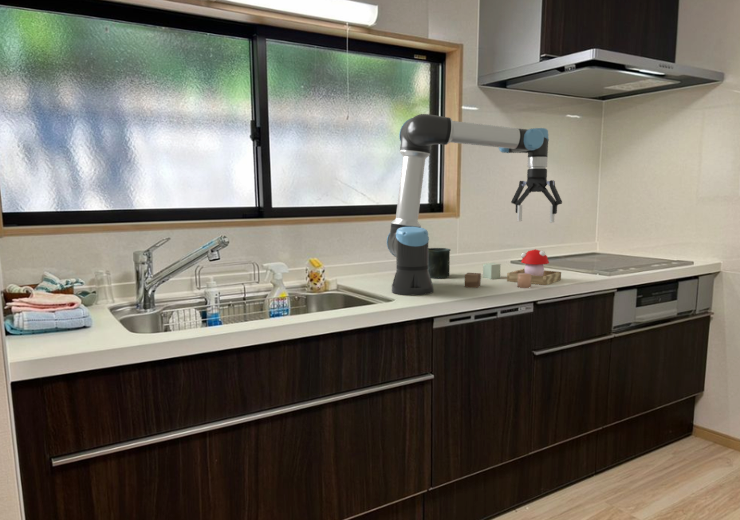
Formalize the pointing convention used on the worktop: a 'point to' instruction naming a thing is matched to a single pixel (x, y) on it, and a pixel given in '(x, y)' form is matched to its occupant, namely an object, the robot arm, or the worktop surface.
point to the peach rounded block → (524, 280)
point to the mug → (438, 262)
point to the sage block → (491, 271)
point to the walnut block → (473, 280)
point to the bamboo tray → (536, 277)
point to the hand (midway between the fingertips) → (535, 221)
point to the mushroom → (534, 262)
